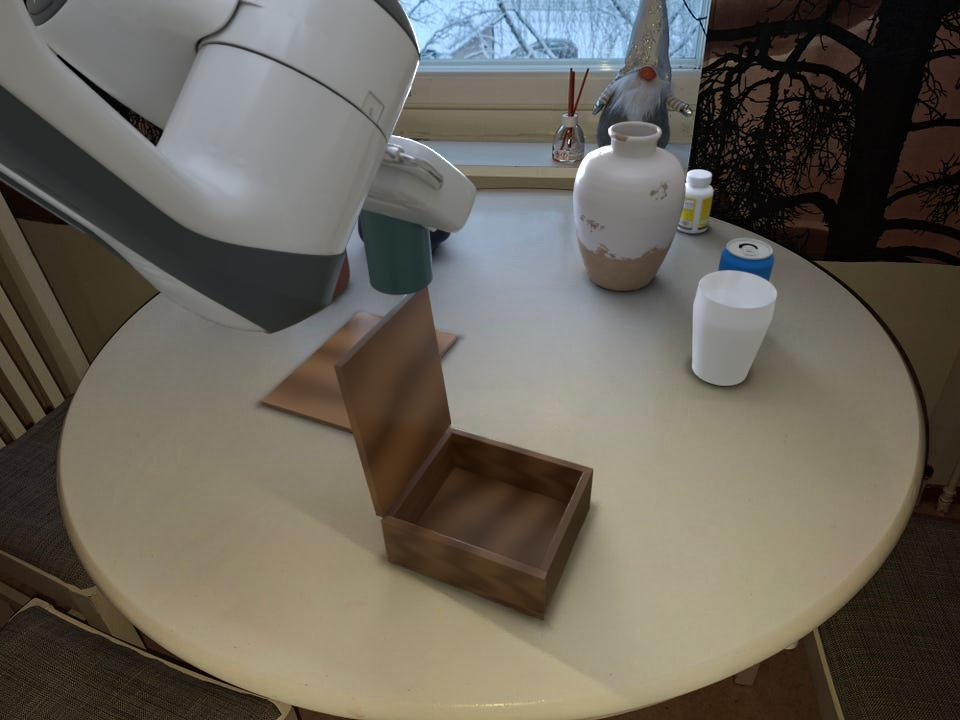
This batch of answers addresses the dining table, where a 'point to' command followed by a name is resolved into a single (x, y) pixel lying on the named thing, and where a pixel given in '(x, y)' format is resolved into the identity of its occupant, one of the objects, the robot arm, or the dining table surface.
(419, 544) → the chest
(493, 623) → the dining table surface
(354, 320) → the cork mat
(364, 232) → the tea tin
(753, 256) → the beverage can
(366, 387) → the chest lid
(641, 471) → the dining table surface
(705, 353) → the cup
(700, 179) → the supplement bottle
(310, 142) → the robot arm
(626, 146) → the vase
